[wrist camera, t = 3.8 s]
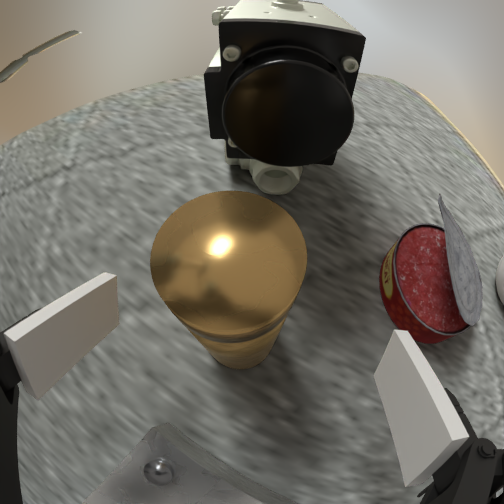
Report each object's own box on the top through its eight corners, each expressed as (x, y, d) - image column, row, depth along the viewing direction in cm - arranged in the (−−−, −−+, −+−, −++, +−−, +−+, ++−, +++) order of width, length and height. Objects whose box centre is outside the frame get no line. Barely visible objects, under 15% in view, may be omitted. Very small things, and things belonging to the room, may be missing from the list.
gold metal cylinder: (193, 342, 18) (120, 264, 8) (233, 293, 20) (217, 171, 9) (247, 382, 17) (243, 367, 6) (286, 329, 19) (335, 237, 8)
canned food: (389, 261, 27) (440, 184, 21) (451, 324, 22) (512, 253, 16) (337, 295, 19) (415, 180, 13) (425, 389, 14) (530, 293, 9)
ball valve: (234, 116, 31) (231, -19, 16) (303, 120, 31) (320, -13, 15) (212, 236, 22) (175, 0, 7) (317, 242, 22) (388, 17, 7)
